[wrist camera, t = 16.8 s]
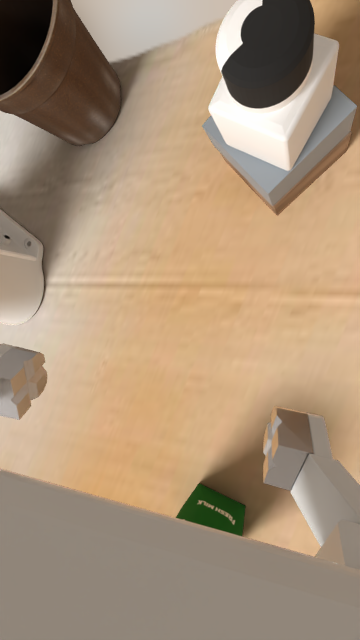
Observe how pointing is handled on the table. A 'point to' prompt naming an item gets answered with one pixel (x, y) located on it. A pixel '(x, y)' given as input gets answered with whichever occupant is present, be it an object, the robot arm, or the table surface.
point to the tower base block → (306, 180)
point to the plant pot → (55, 71)
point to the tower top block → (318, 145)
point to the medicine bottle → (272, 78)
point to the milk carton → (213, 511)
